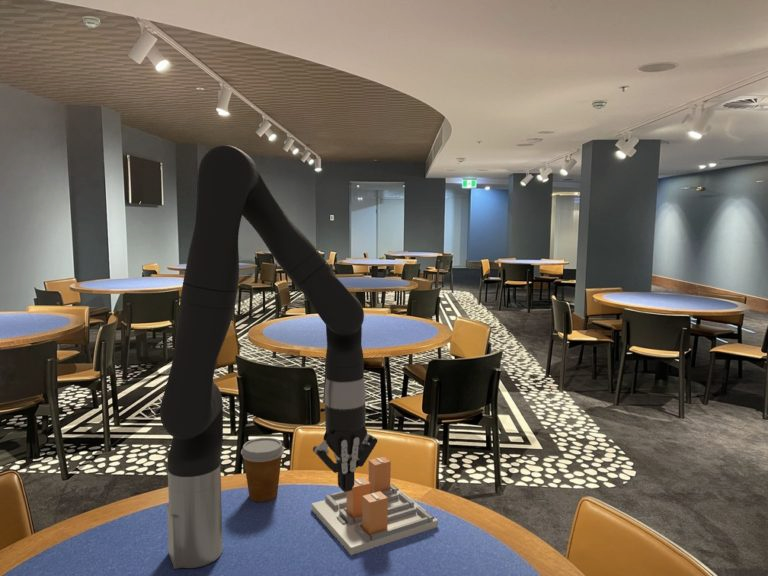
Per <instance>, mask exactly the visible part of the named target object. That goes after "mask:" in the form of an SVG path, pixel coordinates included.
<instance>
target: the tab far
mask: <svg viewBox="0 0 768 576" xmlns="http://www.w3.org/2000/svg"><path fill="white" fill-rule="evenodd" d="M391 463H392V462H391V461H390V460H389V459H388V458H386V457H385V456H381V457H376V458H373V459H369V460H368V481H369V482H370V491H371V492H372V493H375V492H379V491H385V490H389V489H390V483H391V469H392V468H391V465H392V464H391Z"/></svg>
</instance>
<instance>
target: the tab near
mask: <svg viewBox="0 0 768 576" xmlns="http://www.w3.org/2000/svg"><path fill="white" fill-rule="evenodd" d="M387 525H388V497H386V496H385V495H384V494H383V493H382V492H381V491H379V492H375V493H371V494H368V495H364V496H362V529H363V530H364V531H365V532H366V533H367V534H368V535H369V536H370V537H371V534H374V533H377V532H381V531H384V530H387Z"/></svg>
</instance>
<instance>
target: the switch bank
mask: <svg viewBox="0 0 768 576" xmlns="http://www.w3.org/2000/svg"><path fill="white" fill-rule="evenodd" d="M381 492H382V493H383V494H384V495H385V496H386V497H388V525H387V530H384V531H381V532H377V533H374V534H371V537H370V536H369V535H368V534H367V533H366V532H365V531H364V530H363V529H362V516H359V517H355V518H354V520H353V519H352V518H351V517H350V516H349V515H348V514H347V492H344V491H343V490H340V491H337V492H334V493H330V495H329V494H326V495H325V496H324V498H325V499H324V500H319V501H316V502H312V503H311V504H310V505H311V510H310V511H312V513H314V515H315V514H316V515H315V516H316V517H317V518H318V519H319V520H320V521H321V523H322V524H323V525H324V526H325V527H326V529H327V530H329V531H330V533H331V534H332V535H333V537H335V539H336V538H337V542H339V543H340V544H341V545H342V547H343V546H344V547H343V548H344V549H345V550H346V551H347V552H348V554H349V555H350V556H353V555H356V554H359V553H362V552H365V551H368V550H371V549H375V548H378V547H381V546H384V545H387V544H390V543H392V542H396V541H399V540H403V539H405V538H408V537H412V536H414V535H418V534H420V533H424V532H427V531H430V530H433V529H436V528H438V527H439V520H438V519H437V518H436V517H435V516H434V515H432V514H431V513H430V512H429V511H427V510H426V509H425V508H423V506H421V505H420V504H418V503H417V502H416V501H415V500H413V499H412V498H411V497H409V496H408V495H407V494H405V493H404V492H403V491H402V490H401V489H399V488H398V487H396V486H395V485H394V484H393V483H392V482H390V489H389V490H385V491H381ZM371 493H372V492H371V491H370V494H371ZM380 545H381V546H380ZM374 547H375V548H374Z"/></svg>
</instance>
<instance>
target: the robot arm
mask: <svg viewBox="0 0 768 576" xmlns="http://www.w3.org/2000/svg"><path fill="white" fill-rule="evenodd" d="M196 186H197V189H196V190H197V192H196V205H195V206H196V208H195V209H196V210H195V219H194V229H193V233H192V238H191V241H190V246H189V249H188V250H189V251H188V255H187V262H186V266H185V272H184V276H183V281H182V287H181V294H180V301H179V310H178V317H177V324H176V331H175V340H174V348H173V355H172V356H173V357H172V361H171V362H172V363H171V367H170V371H169V374H168V378H167V382H166V385H165V389H164V392H163V396H162V399H161V403H160V407H159V408H160V409H159V418H160V421H161V424H162V426H163V429H164V430H165V431H166V433H168V435H170V436H171V437H172V439H171V444H170V448H169V451H168V454H167V458H166V459H167V461H166V463H167V485H168V486H167V488H168V489H167V490H168V491H167V493H168V504H167V505H166V515H167V516H166V518H167V521H166V522H167V545H168V547H167V548H168V549H167V550H168V551H167V552H168V554H169V559H170V561H171V564H172V566H173V569H175V570H177V569H183V568H184V569H195V568H200V567H203V566H207V565H209V564H212V563H213V562H215V561H216V560H217V559H219V557H221V555H222V553H223V550H224V549H223V541H224V540H223V513H222V512H223V510H222V507H223V506H222V475H221V472H222V468H221V454H222V453H221V452H222V448H223V442H224V402H223V396H222V393H221V391H220V388H219V387H218V385H217V384H216V383H215V382H214V377H215V370H216V365H217V360H218V359H219V355H220V353H221V350H222V347H223V345H224V342H225V339H226V337H227V335H228V334H227V333H228V331H229V328H230V326H231V322H232V319H233V315H234V312H235V306H236V302H237V295H238V289H239V282H240V281H239V279H240V253H239V234H240V233H239V232H240V228H241V227H240V226H241V222H242V218H244V219H245V220H246V221H248V223H249V224H250V225H251V226H252V228H253V229H254V230H255V231H256V233H257V234H258V236H259V237H260V238H261V240H262V241H263V243H264V244H265V246H266V248H267V250H269V252H270V253H271V255H272V256H273V258H274V260H275V261H276V263H277V264H278V266H280V268H281V269H282V271H283V272H284V273H285V274H286V275H287V277H288V278H289V279H290V280H291V282H292V283H293V284H294V286H296V288H297V289H298V290H299V291H300V292H301V293H302V294H303V295H304V296H305V297H306V298H307V301H308V302H309V303H310V304H311V306H312V308H313V309H314V311H315V312H316V314H317V315H318V316H319V318H320V319H321V321H322V322H323V323H324V324H325V330H326V331H325V332H326V335H325V336H326V352H325V385H324V397H323V398H324V399H323V401H324V415H325V417H324V424H325V425H324V426H325V433H324V435H323V441H322V442H321V443H320V444H319V445H315V446H314V447H312V452H313V453H315V455H316V457H318V458H319V459H320V460H321V461H322V462H323V463H324V464H325V465H326V466H327V468H328V469H330V470H331V471H332V472H333V473H335V474H336V473H337V486H338V487H339V488H340V490H341V491H344V492H347V491H351V490H352V487H354V484H355V483H354V480H355V471H356V469H357V468H359V467H363V466H364V465H365V463H366V462H367V460H368V458H369V456H370V455H371V453H372V452H373V450H374V448H375V447H376V445H377V443H378V438H377V437H375V436H373V435H372V434H370V433H368V430H367V427H366V426H365V425H366V423H367V422H366V418H367V417H366V412H367V411H366V410H367V409H366V384H365V370H364V369H365V366H364V365H365V364H364V363H365V361H364V352H363V346H362V335H363V334H362V333H363V331H362V330H363V328H362V326H363V323H364V320H365V313H364V308H363V306H362V303H361V302H360V299H359V298H358V297H356V296H355V295H354V294H353V293H351V292H350V291H349V290H348V288H346V286H345V285H344V284H343V283H342V282H341V280H339V278H338V276H337V275H336V273H335V272H334V270H333V268H332V266H331V265H330V264H329V262H327V260H326V259H325V258H324V257H323V255H322V254H321V252H320V251H319V250H318V249H317V247H316V246H314V244H313V242H311V241H310V240H309V239H308V237H307V236H306V235H305V234H304V233H303V232H302V230H300V228H299V227H298V226H297V225H296V224H295V223H294V221H293V220H292V219H291V218H290V217H289V216H288V214H287V213H286V212H285V211H284V210H283V208H282V206H280V204H279V202H278V201H277V200H276V198H275V196H274V195H273V194H272V193H271V191H270V189H269V188H268V186H267V184H266V182H265V181H264V178H263V177H262V175H261V173H260V171H259V169H258V167H257V164H256V163H255V161H254V160H253V159H252V158H251V157H250V156H249V155H248V154H247V153H246V152H244V151H243V150H242V149H239V148H237V147H235V146H232V145H229V144H228V145H227V144H222V145H216V146H215V147H213V148H211V149H209V150H208V151H207V152H206V153H205V154H204V155H203V157H202V158H201V161H200V163H199V165H198V171H197V185H196ZM329 449H330V450H331V451H332V452H333V455H334V459H335V462H334V461H333V459H332V458H331V457H329V452H330V451H329Z"/></svg>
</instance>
